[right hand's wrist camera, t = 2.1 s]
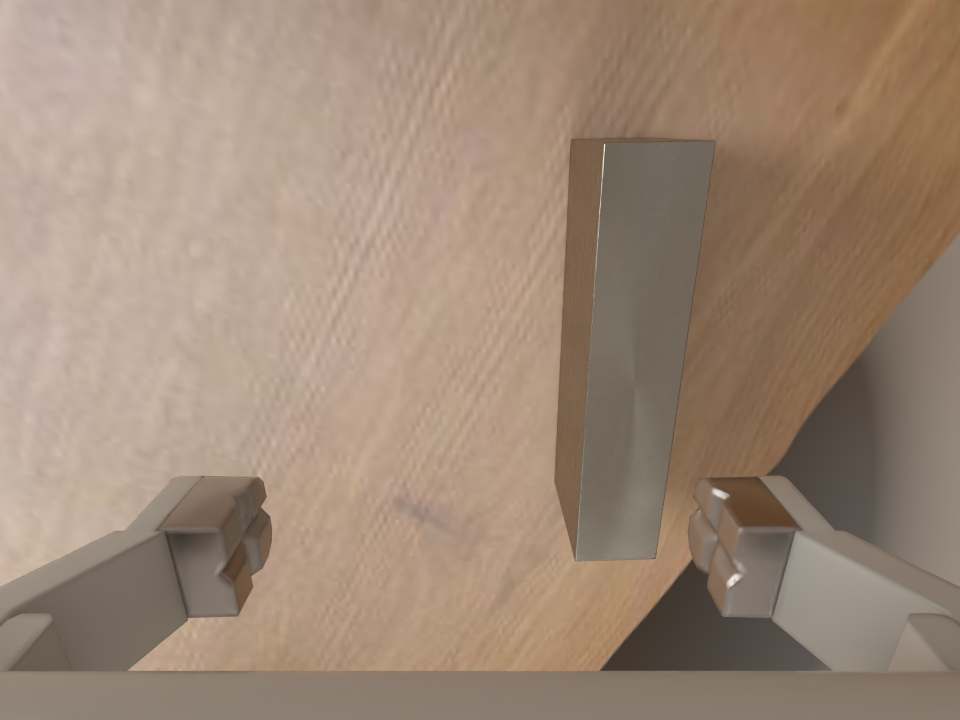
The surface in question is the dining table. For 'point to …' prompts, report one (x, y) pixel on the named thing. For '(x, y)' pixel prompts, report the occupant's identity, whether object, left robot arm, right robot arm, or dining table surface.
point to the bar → (625, 334)
